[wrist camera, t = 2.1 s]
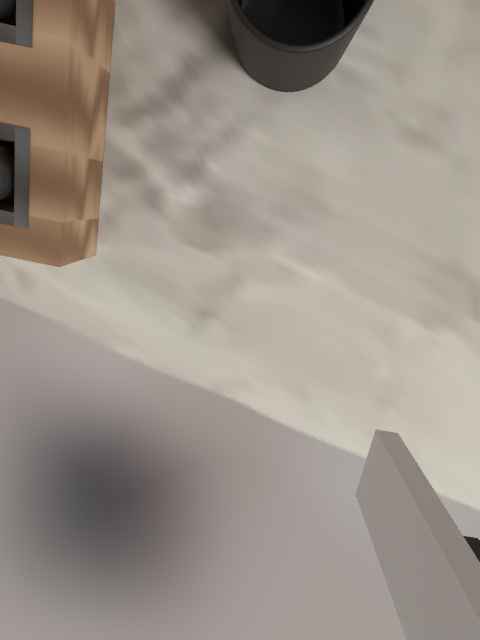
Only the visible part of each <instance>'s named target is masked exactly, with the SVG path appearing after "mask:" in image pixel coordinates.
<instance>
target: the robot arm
mask: <svg viewBox="0 0 480 640" xmlns="http://www.w3.org/2000/svg"><path fill="white" fill-rule="evenodd" d="M356 497H357V500H358V503H359V506H360V509H361V511H362V514H363V517H364V520H365V523H366V525H367V528H368V531H369V534H370V537H371V539H372V542H373V545H374V548H375V551H376V554H377V556H378V559H379V562H380V565H381V568H382V571H383V574H384V576H385V579H386V582H387V585H388V588H389V591H390V593H391V596H392V599H393V602H394V604H395V607H396V610H397V613H398V616H399V619H400V622H401V625H402V627H403V630H404V633H405V636H406V639H407V640H480V540H479V539H478V538H473V537H466V536H463V535H462V534H461V532H460V530H459V529H458V527H457V526H456V524H455V523H454V521H453V519H452V518H451V516H450V515H449V513H448V512H447V510H446V509H445V507H444V505H443V504H442V502H441V500H440V499H439V497H438V496H437V494H436V492H435V491H434V489H433V488H432V486H431V485H430V483H429V481H428V480H427V478H426V477H425V475H424V474H423V472H422V470H421V469H420V467H419V466H418V464H417V462H416V461H415V459H414V458H413V456H412V455H411V453H410V451H409V450H408V448H407V447H406V445H405V444H404V442H403V440H402V439H401V437H400V436H399V434H398V433H394V432H388V431H382V430H376V431H375V434H374V437H373V440H372V443H371V447H370V450H369V453H368V456H367V460H366V463H365V466H364V469H363V472H362V476H361V479H360V482H359V485H358V488H357V492H356Z"/></svg>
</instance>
